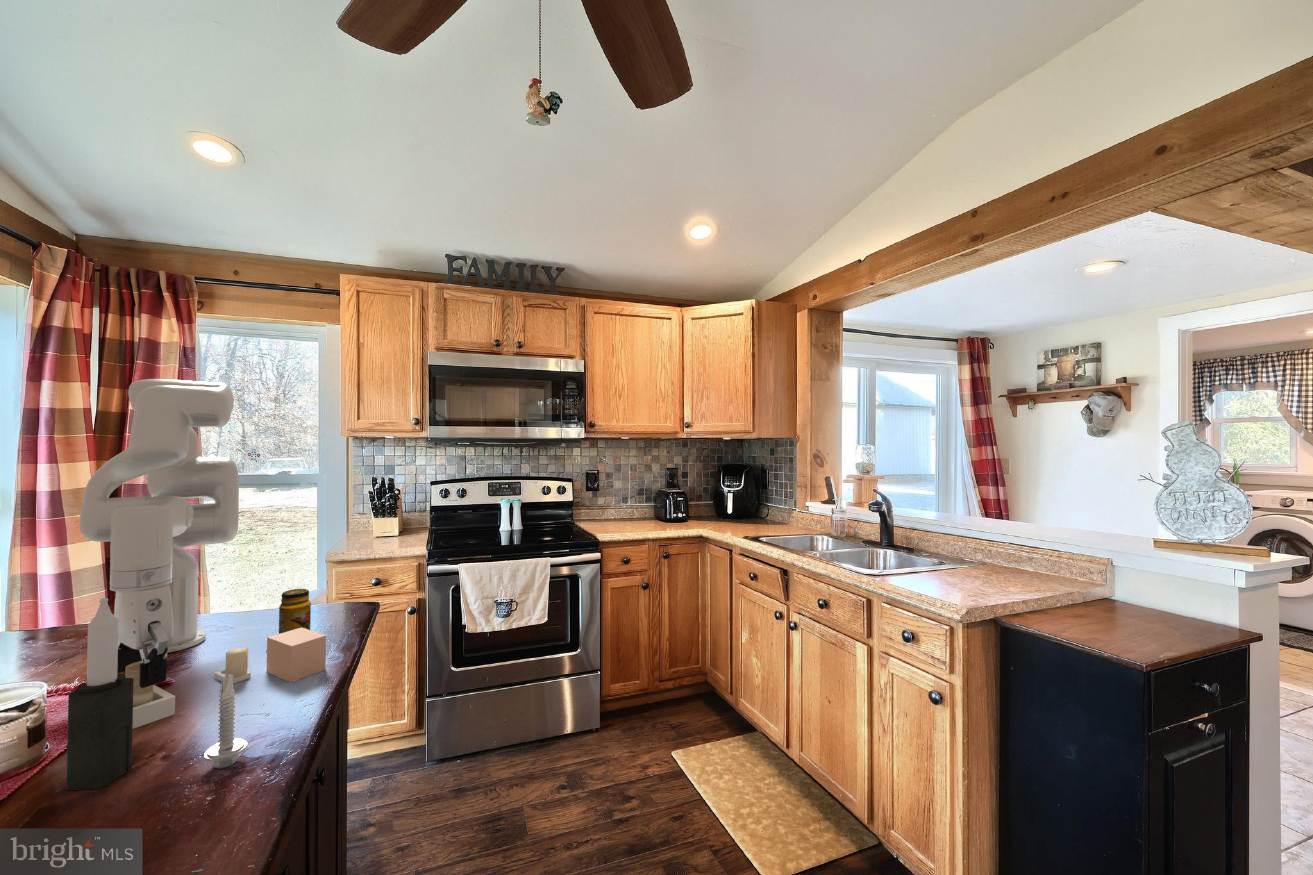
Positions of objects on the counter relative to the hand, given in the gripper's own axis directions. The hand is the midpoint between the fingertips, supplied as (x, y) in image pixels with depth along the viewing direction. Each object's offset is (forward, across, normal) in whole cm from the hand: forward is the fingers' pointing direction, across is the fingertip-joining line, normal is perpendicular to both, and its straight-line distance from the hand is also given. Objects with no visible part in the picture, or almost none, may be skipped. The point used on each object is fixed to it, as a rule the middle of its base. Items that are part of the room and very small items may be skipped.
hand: (140, 676), depth 89 cm
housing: (+7, -4, -22) cm, 24 cm away
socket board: (+7, +2, 0) cm, 7 cm away
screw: (+6, -28, -1) cm, 29 cm away
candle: (+6, -17, +9) cm, 20 cm away
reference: (+7, +3, -15) cm, 16 cm away
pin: (+7, -1, 0) cm, 7 cm away
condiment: (+8, +12, -30) cm, 33 cm away
